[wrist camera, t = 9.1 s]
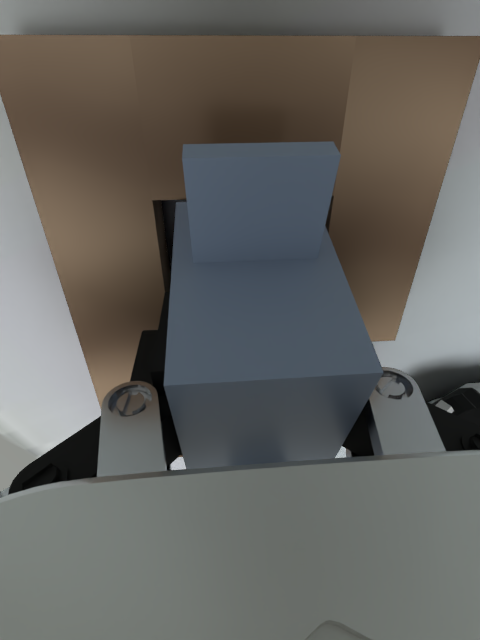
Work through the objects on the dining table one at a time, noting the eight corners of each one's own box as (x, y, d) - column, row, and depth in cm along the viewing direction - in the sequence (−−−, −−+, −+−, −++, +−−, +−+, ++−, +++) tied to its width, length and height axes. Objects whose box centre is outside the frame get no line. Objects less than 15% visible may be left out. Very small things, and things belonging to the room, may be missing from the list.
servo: (163, 105, 8) (124, 345, 4) (332, 103, 9) (481, 327, 4) (199, 379, 18) (200, 549, 13) (281, 374, 18) (310, 539, 13)
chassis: (18, 40, 10) (-19, 34, 8) (442, 41, 11) (486, 36, 9) (125, 427, 19) (117, 461, 17) (350, 412, 20) (363, 444, 18)
